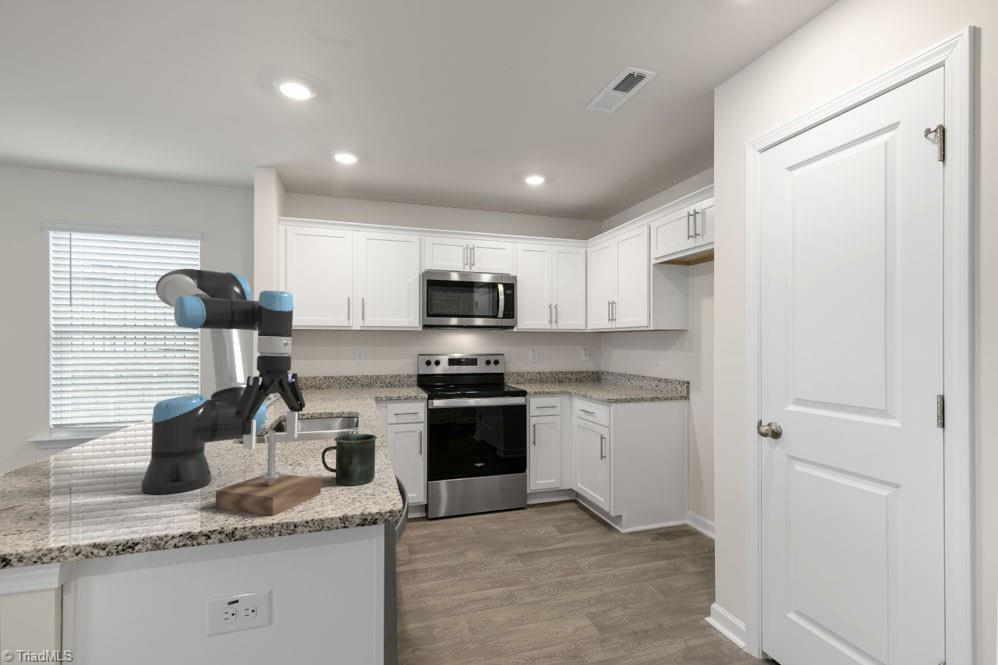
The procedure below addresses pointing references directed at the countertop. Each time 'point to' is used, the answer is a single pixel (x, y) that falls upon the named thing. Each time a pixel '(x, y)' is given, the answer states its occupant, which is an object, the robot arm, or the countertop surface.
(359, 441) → the mug
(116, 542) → the countertop surface
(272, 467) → the screw
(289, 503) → the wooden block
